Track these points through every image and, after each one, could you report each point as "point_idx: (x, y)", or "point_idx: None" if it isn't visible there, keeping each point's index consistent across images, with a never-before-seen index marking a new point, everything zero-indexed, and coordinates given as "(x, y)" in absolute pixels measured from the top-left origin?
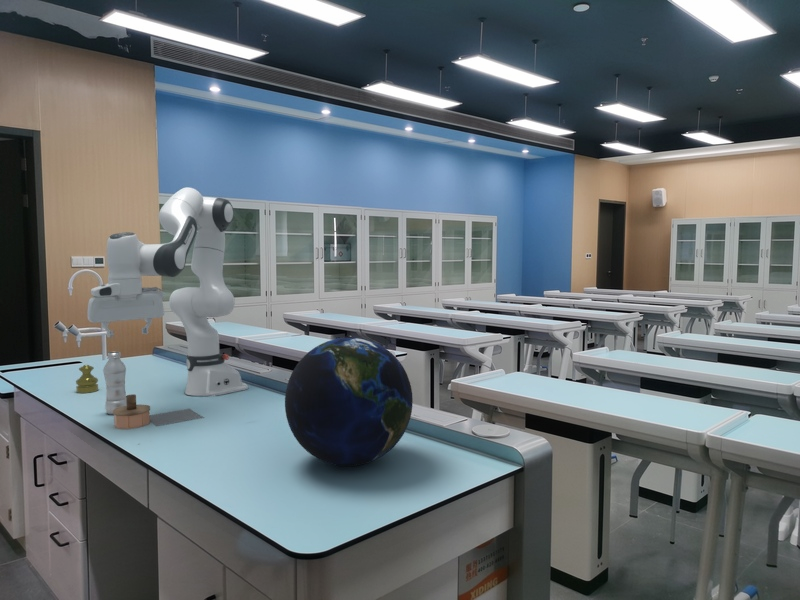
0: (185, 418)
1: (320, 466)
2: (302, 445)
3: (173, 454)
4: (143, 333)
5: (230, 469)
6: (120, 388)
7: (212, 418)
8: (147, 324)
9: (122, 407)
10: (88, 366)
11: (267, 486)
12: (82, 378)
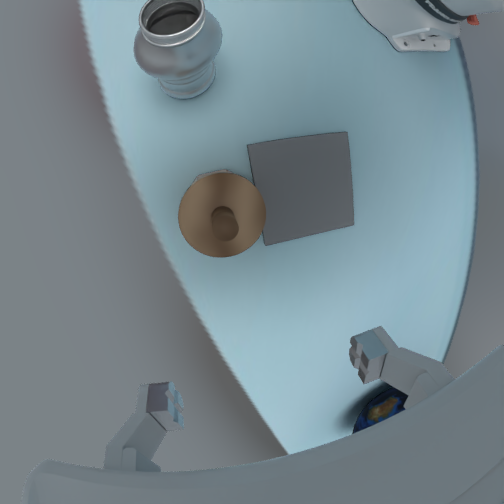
0: (324, 214)
1: (362, 403)
2: (353, 429)
3: (269, 368)
4: (351, 360)
5: (307, 404)
6: (196, 80)
7: (364, 222)
8: (402, 383)
9: (200, 191)
10: None
11: (315, 425)
12: None
